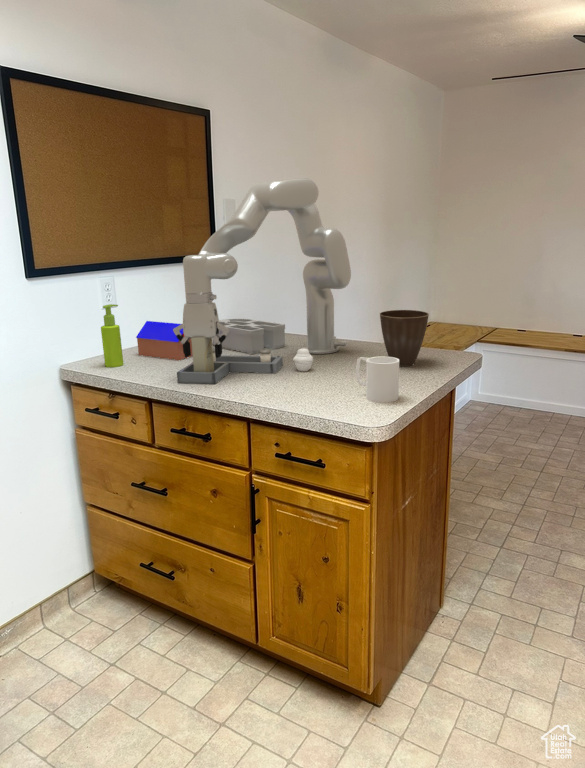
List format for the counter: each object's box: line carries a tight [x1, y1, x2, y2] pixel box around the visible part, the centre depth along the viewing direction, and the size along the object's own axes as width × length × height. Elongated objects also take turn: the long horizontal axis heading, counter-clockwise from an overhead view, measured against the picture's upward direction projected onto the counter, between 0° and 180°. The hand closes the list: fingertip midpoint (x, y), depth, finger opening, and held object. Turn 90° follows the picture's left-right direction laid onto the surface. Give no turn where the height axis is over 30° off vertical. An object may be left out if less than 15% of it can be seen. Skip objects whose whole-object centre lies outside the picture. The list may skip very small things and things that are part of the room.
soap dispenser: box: [100, 303, 124, 368], centre depth 193 cm, size 6×7×20 cm
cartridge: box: [259, 348, 272, 363], centre depth 184 cm, size 3×3×6 cm
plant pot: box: [379, 309, 430, 367], centre depth 184 cm, size 15×15×16 cm
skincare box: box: [191, 337, 214, 372], centre depth 175 cm, size 6×4×12 cm
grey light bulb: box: [213, 348, 216, 361], centre depth 188 cm, size 3×3×6 cm
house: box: [135, 320, 193, 361], centre depth 208 cm, size 12×20×12 cm, turn 58°
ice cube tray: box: [212, 318, 286, 355], centre depth 219 cm, size 17×28×9 cm, turn 45°
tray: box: [176, 361, 231, 385], centre depth 176 cm, size 12×14×3 cm
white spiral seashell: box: [292, 347, 314, 372], centre depth 181 cm, size 6×6×7 cm
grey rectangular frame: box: [214, 354, 284, 374], centre depth 186 cm, size 27×10×3 cm, turn 78°
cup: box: [355, 355, 400, 404], centre depth 152 cm, size 8×12×10 cm
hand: (203, 356), depth 175 cm, fingers open, 9 cm apart
